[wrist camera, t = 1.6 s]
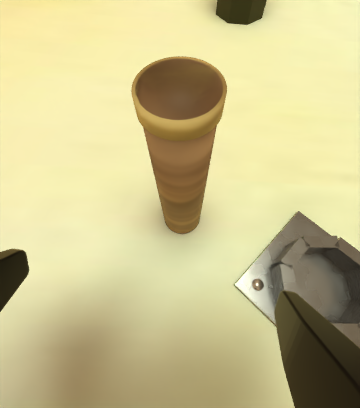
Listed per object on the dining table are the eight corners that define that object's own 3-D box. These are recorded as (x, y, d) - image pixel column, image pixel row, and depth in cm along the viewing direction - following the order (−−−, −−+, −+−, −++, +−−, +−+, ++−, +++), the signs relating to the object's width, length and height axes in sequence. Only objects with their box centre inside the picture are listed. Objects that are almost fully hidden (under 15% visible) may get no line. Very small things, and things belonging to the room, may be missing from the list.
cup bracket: (393, 286, 20) (424, 283, 17) (334, 383, 17) (361, 397, 14) (296, 212, 23) (311, 201, 20) (234, 284, 20) (241, 282, 17)
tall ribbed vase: (198, 237, 22) (223, 128, 8) (160, 232, 22) (120, 117, 8) (203, 202, 23) (229, 60, 10) (166, 197, 24) (142, 53, 10)
